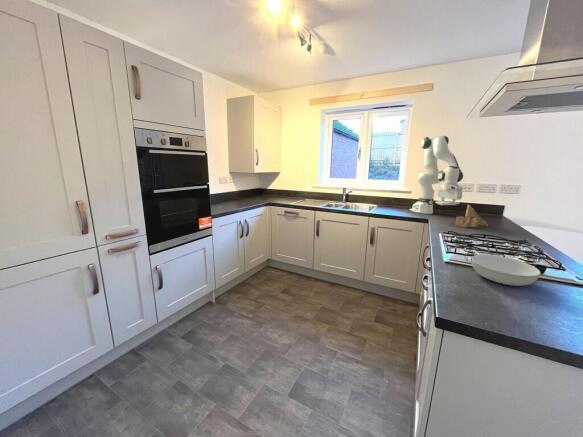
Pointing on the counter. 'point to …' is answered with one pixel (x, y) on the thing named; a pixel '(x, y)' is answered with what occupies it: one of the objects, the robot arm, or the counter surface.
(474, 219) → the crate
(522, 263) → the serving bowl
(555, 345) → the counter surface
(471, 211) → the sandwich container
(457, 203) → the lid
